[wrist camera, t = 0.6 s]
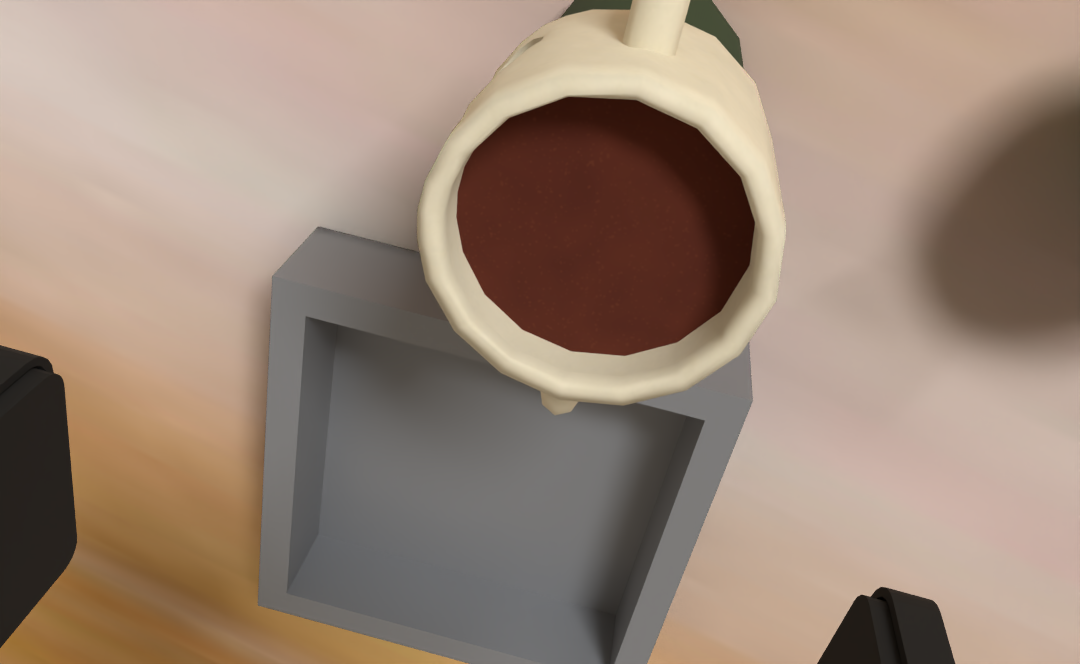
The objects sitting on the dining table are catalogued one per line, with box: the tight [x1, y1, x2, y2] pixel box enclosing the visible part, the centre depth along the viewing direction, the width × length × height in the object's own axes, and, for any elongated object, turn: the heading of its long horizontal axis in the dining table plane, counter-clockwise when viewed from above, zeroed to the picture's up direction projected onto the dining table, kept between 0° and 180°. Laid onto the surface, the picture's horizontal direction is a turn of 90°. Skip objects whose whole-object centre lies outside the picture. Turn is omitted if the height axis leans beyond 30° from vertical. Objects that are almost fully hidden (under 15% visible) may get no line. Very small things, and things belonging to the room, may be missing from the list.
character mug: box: [417, 0, 786, 415], centre depth 23 cm, size 11×7×13 cm, turn 169°
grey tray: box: [258, 227, 753, 664], centre depth 35 cm, size 16×16×4 cm
